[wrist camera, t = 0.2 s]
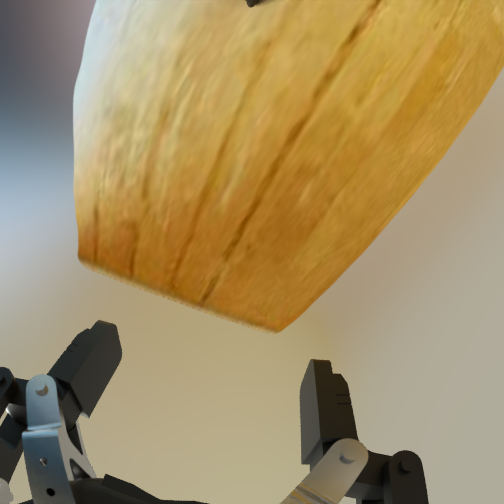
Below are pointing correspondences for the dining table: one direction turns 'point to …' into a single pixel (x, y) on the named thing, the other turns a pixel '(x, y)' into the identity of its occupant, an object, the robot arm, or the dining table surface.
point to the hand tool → (252, 2)
